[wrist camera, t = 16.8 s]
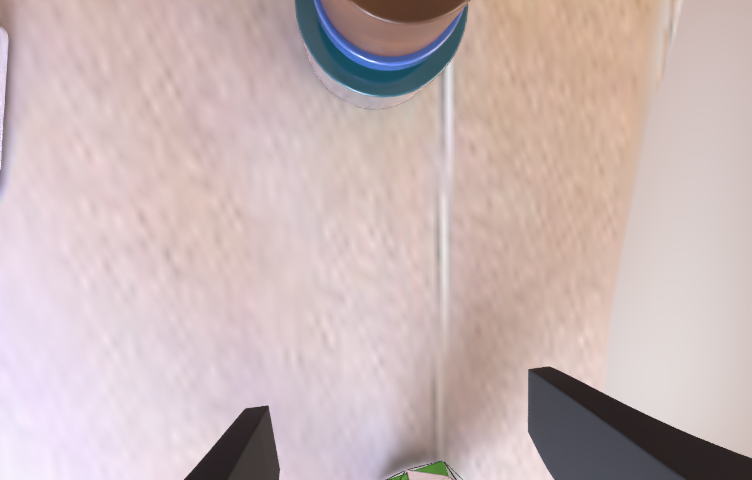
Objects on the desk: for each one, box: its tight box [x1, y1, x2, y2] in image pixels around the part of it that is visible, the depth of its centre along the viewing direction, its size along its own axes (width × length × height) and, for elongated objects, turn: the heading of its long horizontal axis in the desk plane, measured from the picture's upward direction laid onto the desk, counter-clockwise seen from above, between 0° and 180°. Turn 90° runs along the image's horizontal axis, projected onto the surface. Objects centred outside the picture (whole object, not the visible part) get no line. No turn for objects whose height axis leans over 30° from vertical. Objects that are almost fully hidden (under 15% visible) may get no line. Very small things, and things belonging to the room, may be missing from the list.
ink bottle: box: [295, 0, 468, 109], centre depth 15 cm, size 6×6×6 cm
